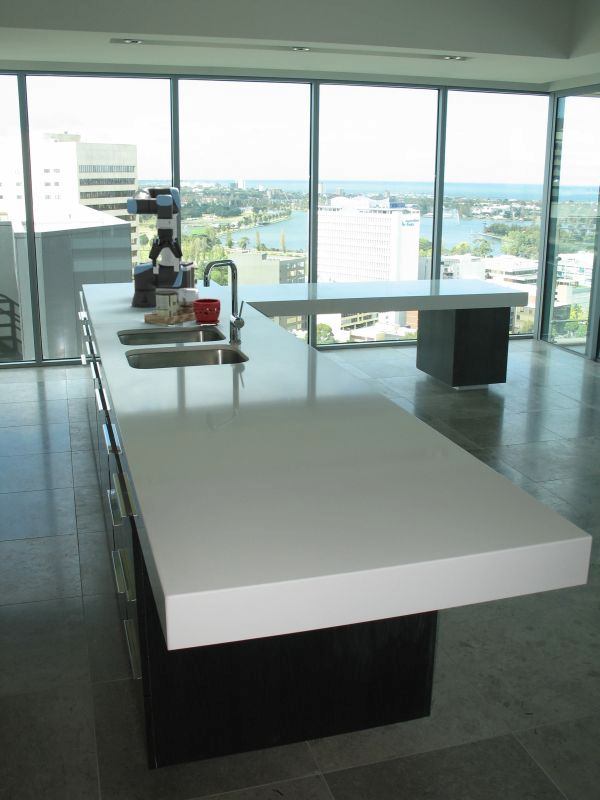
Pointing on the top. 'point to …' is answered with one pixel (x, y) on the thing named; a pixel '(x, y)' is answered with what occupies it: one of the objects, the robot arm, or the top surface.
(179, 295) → the canister
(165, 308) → the coffee can
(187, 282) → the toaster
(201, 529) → the top surface
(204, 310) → the plant pot
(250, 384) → the top surface
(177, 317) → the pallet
